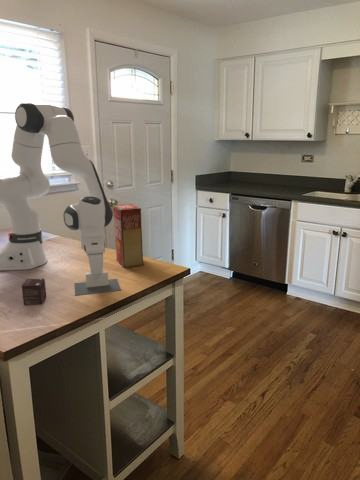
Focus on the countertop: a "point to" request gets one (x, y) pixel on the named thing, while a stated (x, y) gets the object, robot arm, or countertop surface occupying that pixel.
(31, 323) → the countertop surface
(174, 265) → the countertop surface
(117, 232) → the food packaging
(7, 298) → the countertop surface
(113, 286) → the mat
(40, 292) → the box
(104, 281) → the tile
